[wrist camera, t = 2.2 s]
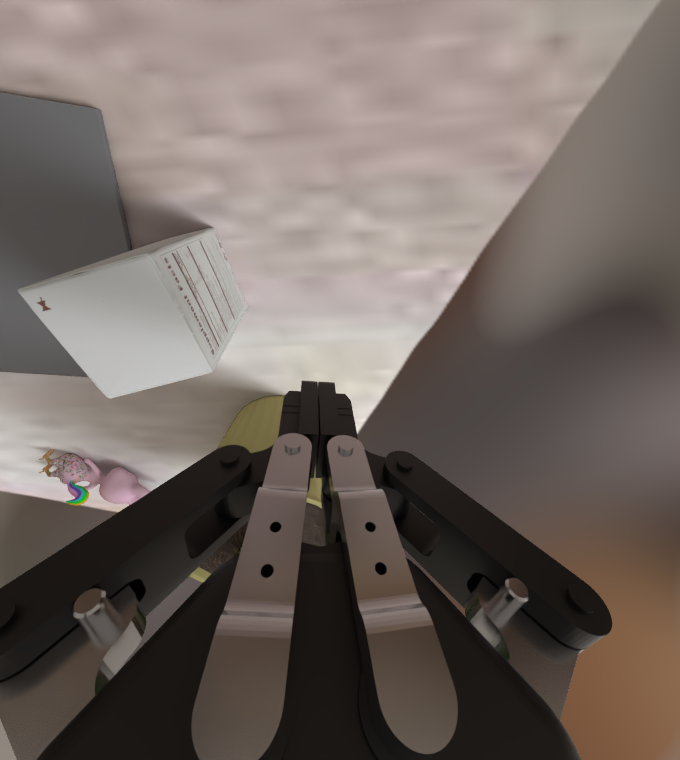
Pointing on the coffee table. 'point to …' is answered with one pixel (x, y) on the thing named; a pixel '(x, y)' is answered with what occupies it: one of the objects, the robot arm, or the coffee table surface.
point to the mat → (51, 217)
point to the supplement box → (144, 312)
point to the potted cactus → (257, 433)
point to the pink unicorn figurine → (94, 480)
